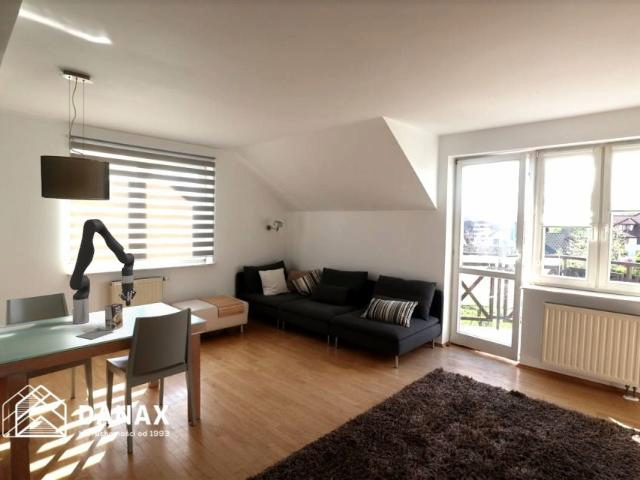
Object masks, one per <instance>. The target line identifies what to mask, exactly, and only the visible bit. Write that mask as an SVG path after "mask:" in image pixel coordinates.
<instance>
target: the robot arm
mask: <svg viewBox="0 0 640 480" xmlns="http://www.w3.org/2000/svg"><path fill="white" fill-rule="evenodd" d="M96 233H97V234H99V236H101V237H102V239H103V241H104V243H105V245H106V247H107V248H108V249H109V250H110V251H111V252H112V253H113V254H114V255H115V257H116V259H117V260H118V261H119V263H121V264H123V267H122V268H121V278H120V279H121V283H120V284H121V289H122V290H121V293H119V295H118V297H120V299H121V300H122V301H124V302H125V306H126V307H130V306H131V303H132V300H133V299H134V298H135V296H136V294H137V291H135V290H134V285H135V283H134V281H135V280H134V267H135V266H134V265H135V256H134V254H133V253H132V252H129V253H126V252H125V251H124V250H125V247H123V245H122V244H121V243H120V242H119V241H118V240H117V239H116V238H115V237H114V236H113V235H112V233H111V232H110V231H109V229H108V228H107V227H106V225H105V224H104V222H103V221H102V220H101V219H98V218H90V219H87V220H85V221H84V223H83V227H82V235H81V236H82V237H81V240H80V243H79V244H80V245H79V249H78V253H77V255H76V256H77V257H76V260H75V261H76V262H75V266H74V268H73V271H72V274H71V276H70V279H69V287H70V289H71V290H72V291H76V292H74V294H73V295H72V311H71V312H72V323H73V324H74V325H82V324H87V323H89V322H90V303H89V302H90V301H89V298H90V297H89V296H90V291H91V281H90V278H89V277H88V276H87V275H85V271H86V270H87V269H88V268H89V266H90V265H91V263H92V262H93V259H94V255H95V246H94V237H95V234H96Z"/></svg>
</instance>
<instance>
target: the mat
mask: <svg viewBox="0 0 640 480" xmlns="http://www.w3.org/2000/svg"><path fill="white" fill-rule="evenodd" d="M114 332H115V331H111V330H105V329H101V328H98V329H94V330H91V331H87V332H85V333H82V334H78V335H76V337H77V338H81V339H85V340H91V341H92V340H95V339H100V338H101V337H104V336H107V335H111V334H113V333H114Z"/></svg>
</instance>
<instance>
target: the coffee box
mask: <svg viewBox="0 0 640 480" xmlns="http://www.w3.org/2000/svg"><path fill="white" fill-rule="evenodd" d="M123 309H124V308H123V303H112V304H109V305H105V306H104V321H105V323H104V324H105V325H104V330H107V331H112V332H114V331H115V330H118V329H120V328H122V327H124V323H123V322H124V319H123V317H124V315H123Z"/></svg>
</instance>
